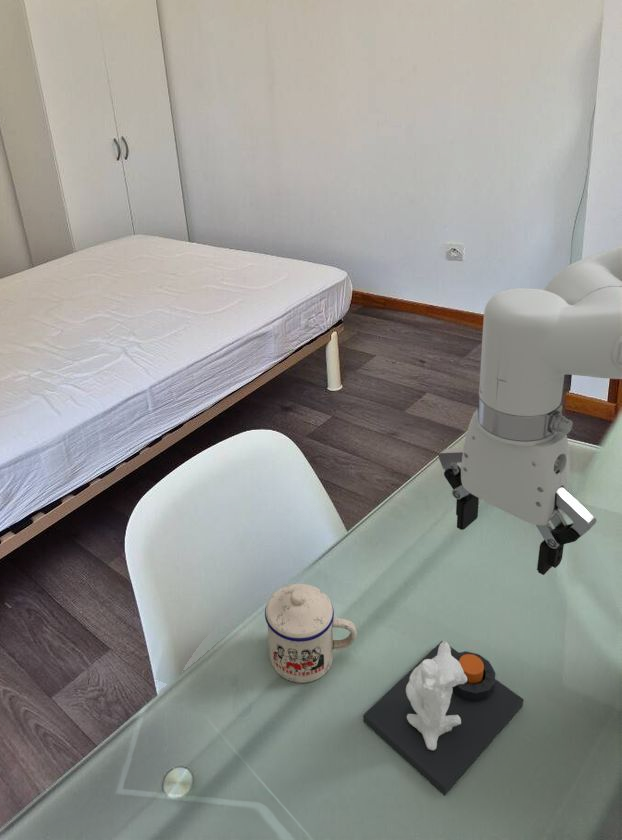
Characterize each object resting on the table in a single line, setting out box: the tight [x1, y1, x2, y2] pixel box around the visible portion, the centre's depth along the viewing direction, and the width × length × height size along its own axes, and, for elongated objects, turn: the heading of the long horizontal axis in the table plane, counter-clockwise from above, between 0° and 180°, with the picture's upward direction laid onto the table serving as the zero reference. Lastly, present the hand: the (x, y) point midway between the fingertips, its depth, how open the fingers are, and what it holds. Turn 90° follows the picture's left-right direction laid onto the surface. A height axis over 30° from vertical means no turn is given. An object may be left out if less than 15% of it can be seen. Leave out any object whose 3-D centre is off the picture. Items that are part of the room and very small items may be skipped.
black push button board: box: [362, 640, 524, 796], centre depth 85 cm, size 16×12×3 cm
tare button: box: [459, 654, 484, 684], centre depth 87 cm, size 3×3×2 cm
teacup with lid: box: [264, 583, 357, 684], centre depth 92 cm, size 12×9×12 cm
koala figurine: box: [406, 640, 467, 750], centre depth 80 cm, size 8×7×12 cm
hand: (505, 544), depth 76 cm, fingers open, 9 cm apart
